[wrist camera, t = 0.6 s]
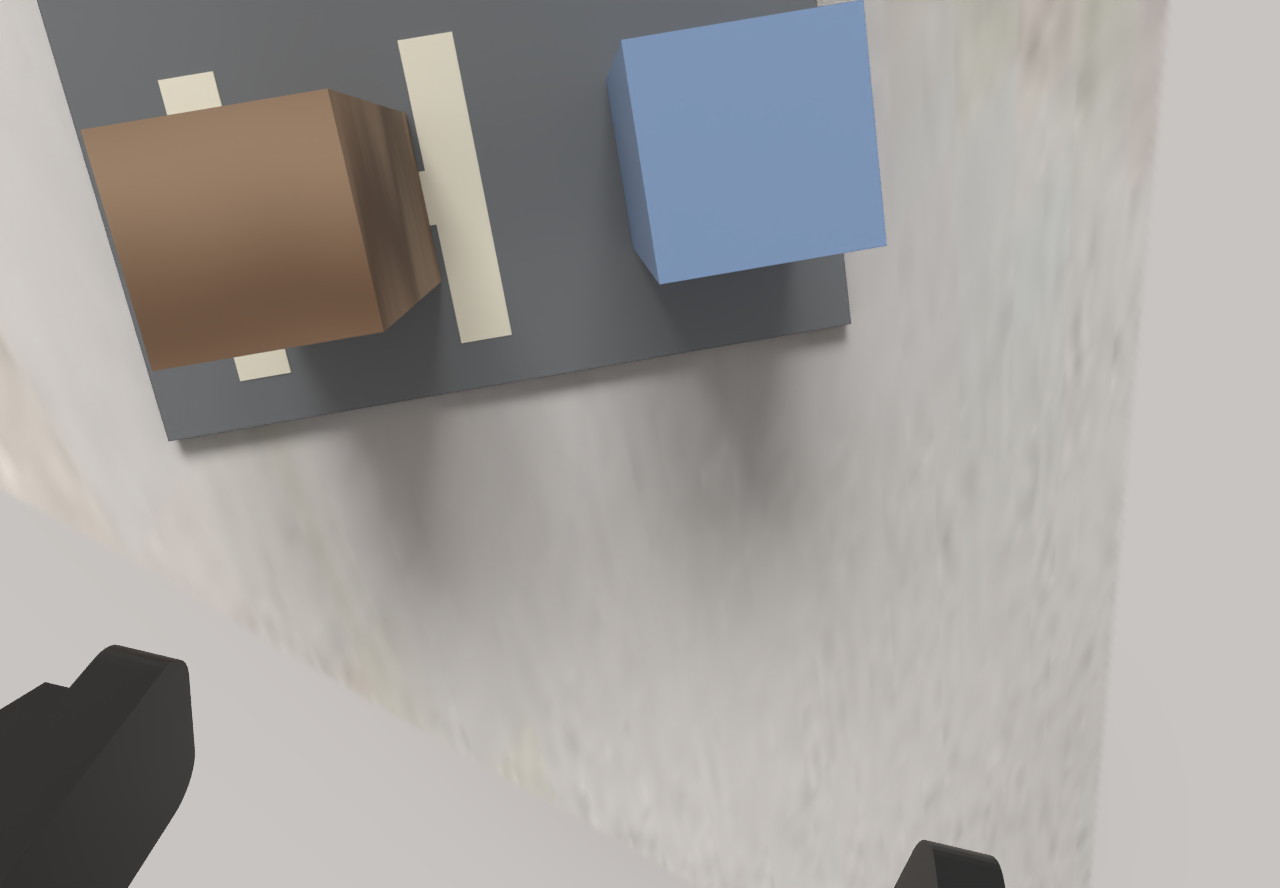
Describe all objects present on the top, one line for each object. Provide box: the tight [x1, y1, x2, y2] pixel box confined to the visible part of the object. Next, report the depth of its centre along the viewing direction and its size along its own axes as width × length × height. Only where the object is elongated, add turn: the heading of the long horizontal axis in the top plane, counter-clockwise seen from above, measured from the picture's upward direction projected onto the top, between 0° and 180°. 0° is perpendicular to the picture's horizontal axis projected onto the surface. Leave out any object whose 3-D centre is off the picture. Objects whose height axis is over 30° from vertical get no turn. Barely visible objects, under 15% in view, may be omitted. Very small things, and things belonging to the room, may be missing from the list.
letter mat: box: [37, 0, 851, 441], centre depth 31 cm, size 14×22×1 cm, turn 99°
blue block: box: [606, 0, 887, 284], centre depth 26 cm, size 5×5×10 cm
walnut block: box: [81, 89, 442, 371], centre depth 26 cm, size 5×5×10 cm
